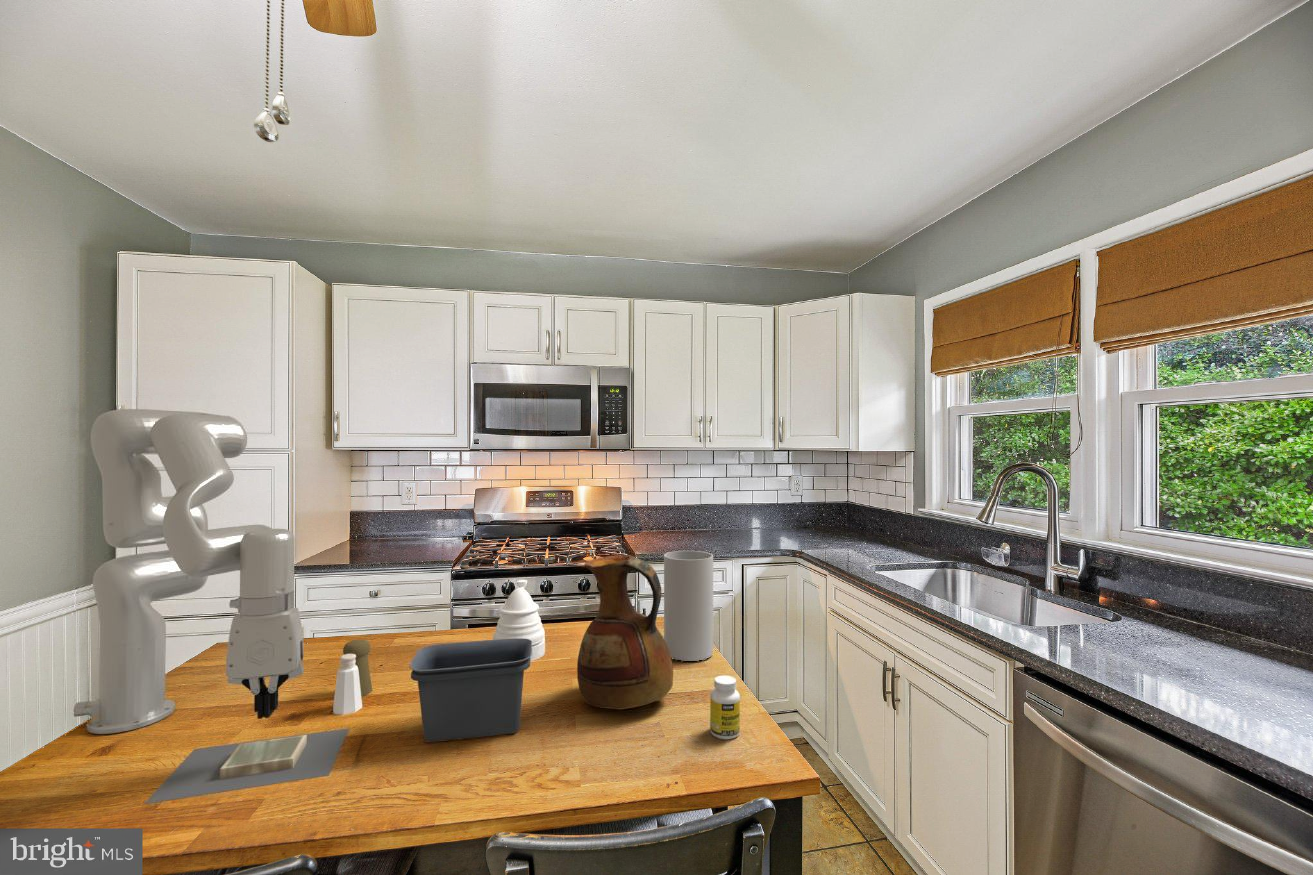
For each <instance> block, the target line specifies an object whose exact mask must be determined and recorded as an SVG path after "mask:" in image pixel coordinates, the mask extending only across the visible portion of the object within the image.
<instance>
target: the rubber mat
mask: <svg viewBox="0 0 1313 875" xmlns="http://www.w3.org/2000/svg"><path fill="white" fill-rule="evenodd" d="M349 731H350V727H348V728H340V729H333V730H325V731H317V732H310V733H303V734H302V733H301V734H297V735H289V736H281V737H273V738H266V739H260V740H259V739H258V740H252V741H245V742H237V743H231V744H230V743H229V744H222V745H214V746H208V747H200V748H194V749H193V750H192V751H191V752H190V753H189V754H188V756H187V757H186V758H185V759H184V760H183V761H182V762H181V763H180V764H179V765H178V766H177V768H175V770H173V772H172V773H171V774H170V775H169V776H168V777H167V778H166V779H165V781H163V783H162V784H161V785H160V786H159V787H158V788H157V789H156V790H155V791H154V792H153V793H152V794H151V796H150V797H149V798H148V799H147V800H146V801H145V802H144V803H143V805H148V804H150V805H151V804H155V803H160V802H168V801H175V800H182V799H187V798H193V797H199V796H207V795H212V794H213V795H214V794H221V793H227V792H231V791H232V792H233V791H239V790H246V789H251V788H258V787H264V786H272V785H278V784H283V783H285V784H286V783H289V782H296V781H304V780H310V779H315V778H316V779H317V778H321V777H327V776H330V774H331V771H332V770H333V768H334V767H333V766H335V765H334V764H335V763H336V760H337V758H338V755H339V753H340V750H341V749H342V746H343V744H344V742H345V740H346V737H347V735H348V733H349ZM301 735H307V744H306V746H305V748H304V750H303V751H302V753H301V755H300V757H299V758H298V760H297V762H296V764H295V766H294V767H293V768H292V769H285V770H278V771H272V772H265V773H258V774H252V775H245V776H238V777H232V778H225V779H220V768H221V767H222V766H223V765H224V763H225V762H226V761H227V760H228V758H229V757H230V756H231V754H232V753H233V752H234V751H235V749H236V748H237V747H238V746H239V744H242V743H249V742H257V741H264V740H272V739H279V738H286V737H294V736H301Z"/></svg>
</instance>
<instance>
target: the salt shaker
mask: <svg viewBox="0 0 1313 875" xmlns="http://www.w3.org/2000/svg"><path fill="white" fill-rule="evenodd" d="M355 658H356V655H355V654H345V655H344V654H343V655H341V656H340V657H339V660H340V667H339V668H338V669H337V673H336V683H335V690H334V696H333V697H334V698H333V707H332V711H333V715H339V716H340V715H342V716H344V715H348V714H352V713H353V714H354V713H356V712H358V711H359V710H360V709H362V708H363V700H362V697H361V689H360V680H359V671H358V667H357V666H356V665H355Z"/></svg>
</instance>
